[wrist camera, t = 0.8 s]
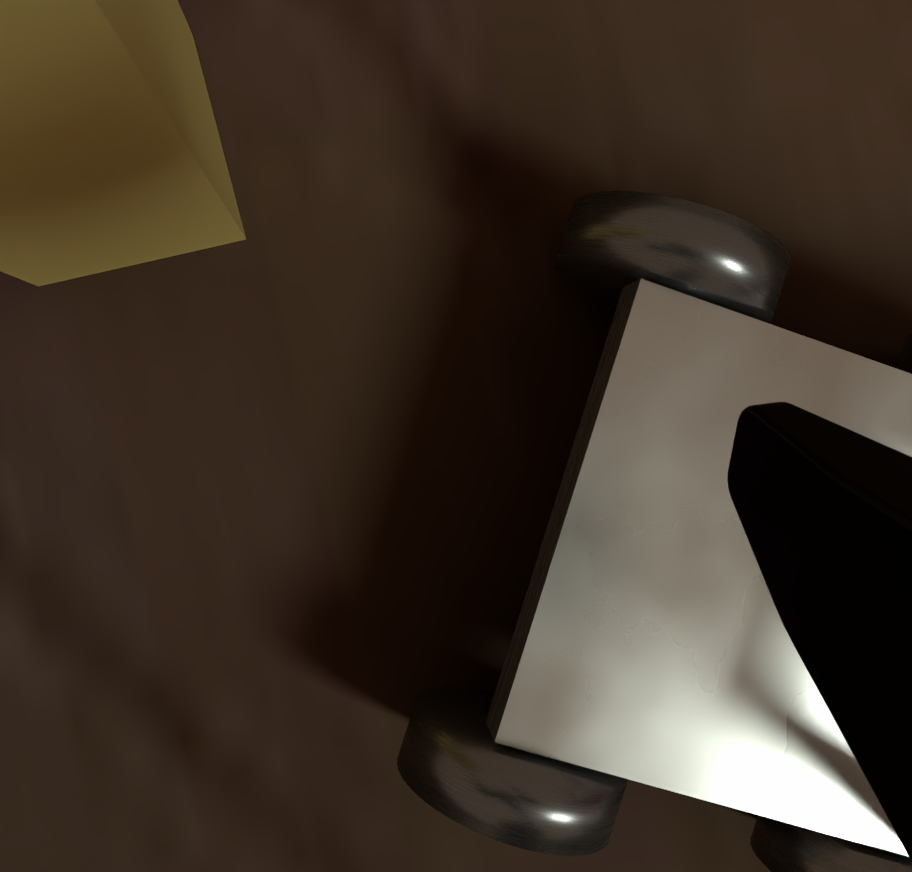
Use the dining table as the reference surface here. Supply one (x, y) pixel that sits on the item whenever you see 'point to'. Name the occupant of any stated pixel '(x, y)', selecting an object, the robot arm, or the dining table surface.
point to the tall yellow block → (105, 140)
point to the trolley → (667, 572)
